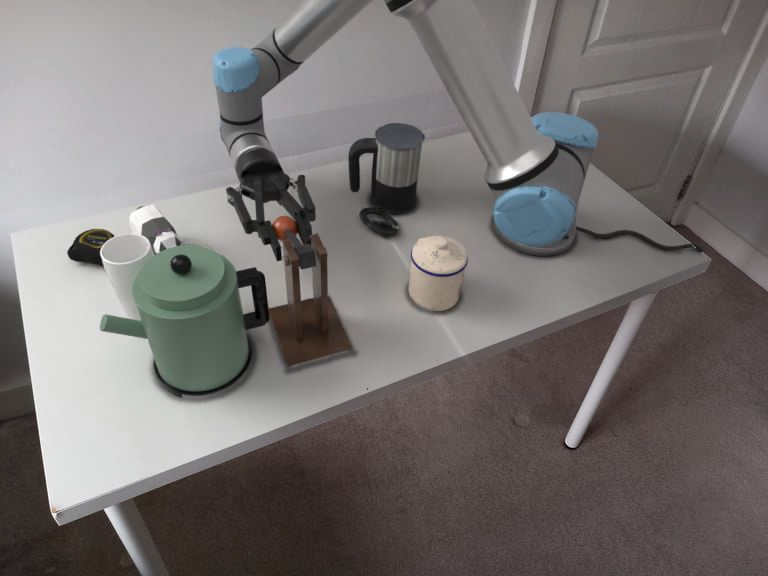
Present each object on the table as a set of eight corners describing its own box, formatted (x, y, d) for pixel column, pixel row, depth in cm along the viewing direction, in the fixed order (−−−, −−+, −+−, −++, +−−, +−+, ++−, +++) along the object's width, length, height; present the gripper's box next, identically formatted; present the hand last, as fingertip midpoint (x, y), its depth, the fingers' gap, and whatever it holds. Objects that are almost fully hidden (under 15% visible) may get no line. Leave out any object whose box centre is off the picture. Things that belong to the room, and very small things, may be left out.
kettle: (261, 310, 96) (248, 208, 81) (284, 377, 87) (274, 275, 72) (118, 345, 89) (75, 240, 75) (127, 421, 80) (81, 319, 66)
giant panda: (133, 244, 105) (119, 201, 98) (163, 233, 108) (152, 190, 101) (168, 293, 97) (155, 249, 91) (200, 280, 100) (190, 236, 93)
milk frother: (407, 184, 123) (413, 119, 113) (438, 231, 113) (448, 163, 102) (341, 195, 119) (341, 129, 108) (367, 245, 109) (370, 177, 98)
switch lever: (271, 239, 94) (267, 215, 92) (295, 234, 95) (292, 210, 93) (295, 276, 81) (291, 249, 79) (323, 270, 82) (320, 243, 80)
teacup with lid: (469, 306, 99) (481, 254, 91) (419, 318, 96) (426, 265, 88) (439, 260, 107) (448, 208, 99) (392, 270, 104) (397, 217, 96)
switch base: (267, 313, 95) (257, 227, 83) (327, 299, 98) (326, 213, 86) (288, 370, 88) (280, 284, 75) (352, 352, 91) (354, 266, 78)
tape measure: (69, 265, 101) (62, 248, 98) (92, 240, 105) (86, 223, 103) (106, 273, 100) (100, 256, 97) (128, 247, 105) (122, 231, 102)
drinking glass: (131, 305, 95) (105, 232, 84) (175, 304, 96) (155, 232, 85) (121, 337, 90) (93, 264, 80) (167, 336, 91) (145, 264, 80)
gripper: (305, 176, 109) (348, 257, 94) (210, 192, 103) (240, 281, 88) (303, 139, 103) (349, 219, 88) (203, 155, 98) (233, 243, 83)
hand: (294, 250), depth 88 cm, fingers closed on switch lever, 4 cm apart
